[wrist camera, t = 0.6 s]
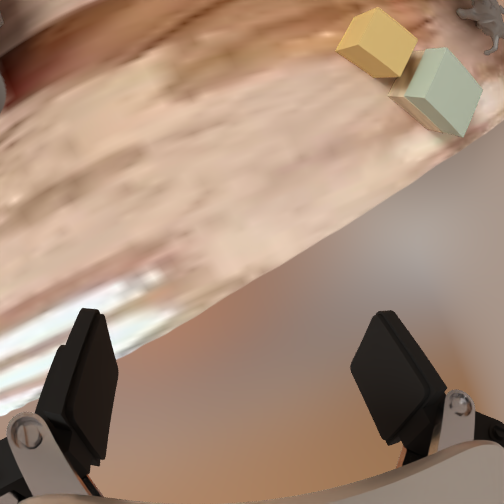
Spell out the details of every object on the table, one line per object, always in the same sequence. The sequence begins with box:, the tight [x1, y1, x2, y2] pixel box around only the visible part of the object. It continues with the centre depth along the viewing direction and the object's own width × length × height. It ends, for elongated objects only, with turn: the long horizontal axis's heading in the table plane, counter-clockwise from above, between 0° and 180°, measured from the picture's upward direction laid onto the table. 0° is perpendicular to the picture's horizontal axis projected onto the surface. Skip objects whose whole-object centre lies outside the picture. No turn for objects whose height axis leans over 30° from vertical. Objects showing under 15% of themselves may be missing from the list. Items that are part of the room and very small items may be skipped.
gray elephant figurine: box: [456, 0, 504, 55], centre depth 22 cm, size 9×12×8 cm
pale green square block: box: [404, 47, 483, 138], centre depth 26 cm, size 8×8×4 cm
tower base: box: [388, 50, 443, 133], centre depth 30 cm, size 8×8×4 cm
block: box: [335, 7, 418, 78], centre depth 26 cm, size 6×6×6 cm
